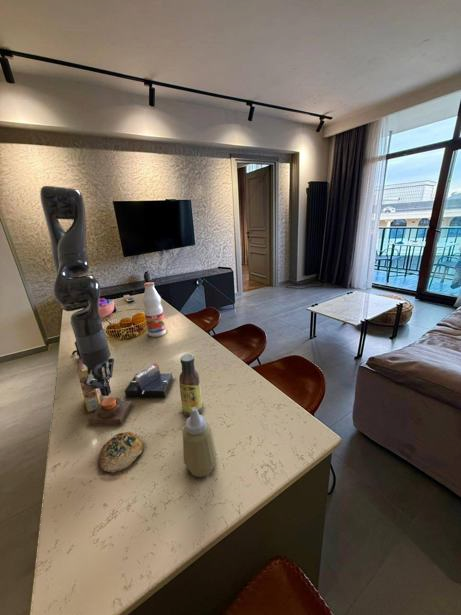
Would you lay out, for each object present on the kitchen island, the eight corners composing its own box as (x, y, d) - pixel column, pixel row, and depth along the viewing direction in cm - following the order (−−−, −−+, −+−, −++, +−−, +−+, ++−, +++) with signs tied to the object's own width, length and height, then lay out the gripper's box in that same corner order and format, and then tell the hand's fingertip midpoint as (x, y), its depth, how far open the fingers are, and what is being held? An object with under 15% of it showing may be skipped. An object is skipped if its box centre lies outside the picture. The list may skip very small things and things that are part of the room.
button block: (90, 424, 78) (87, 414, 77) (103, 406, 86) (101, 396, 84) (121, 424, 78) (118, 414, 76) (132, 406, 85) (130, 396, 84)
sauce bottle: (179, 415, 80) (170, 360, 73) (189, 401, 86) (182, 350, 79) (197, 420, 78) (190, 364, 71) (206, 406, 83) (200, 353, 76)
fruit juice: (166, 328, 142) (159, 280, 132) (165, 336, 134) (157, 284, 124) (149, 330, 141) (140, 281, 131) (147, 338, 132) (137, 286, 122)
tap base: (124, 401, 88) (122, 393, 87) (139, 377, 100) (137, 370, 99) (163, 401, 87) (162, 393, 85) (174, 377, 99) (173, 370, 98)
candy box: (102, 408, 85) (91, 369, 80) (87, 412, 83) (75, 373, 78) (102, 392, 93) (92, 356, 87) (88, 396, 91) (77, 359, 86)
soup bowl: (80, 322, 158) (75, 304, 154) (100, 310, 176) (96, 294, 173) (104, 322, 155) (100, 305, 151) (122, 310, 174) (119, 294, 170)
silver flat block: (140, 389, 88) (138, 376, 86) (137, 387, 89) (134, 375, 87) (160, 375, 95) (158, 363, 93) (157, 374, 96) (154, 362, 94)
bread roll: (113, 435, 74) (111, 422, 72) (150, 440, 73) (149, 428, 71) (89, 472, 64) (86, 459, 62) (132, 480, 63) (130, 466, 61)
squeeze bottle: (186, 453, 67) (177, 398, 61) (217, 450, 67) (211, 395, 61) (183, 484, 59) (173, 424, 53) (218, 480, 60) (212, 420, 54)
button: (100, 410, 79) (99, 406, 78) (106, 401, 82) (105, 397, 82) (112, 410, 78) (111, 406, 78) (118, 401, 82) (117, 397, 82)
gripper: (93, 335, 79) (106, 381, 85) (65, 357, 67) (82, 409, 73) (116, 334, 79) (127, 381, 85) (92, 357, 66) (107, 410, 72)
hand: (106, 394), depth 79 cm, fingers closed
